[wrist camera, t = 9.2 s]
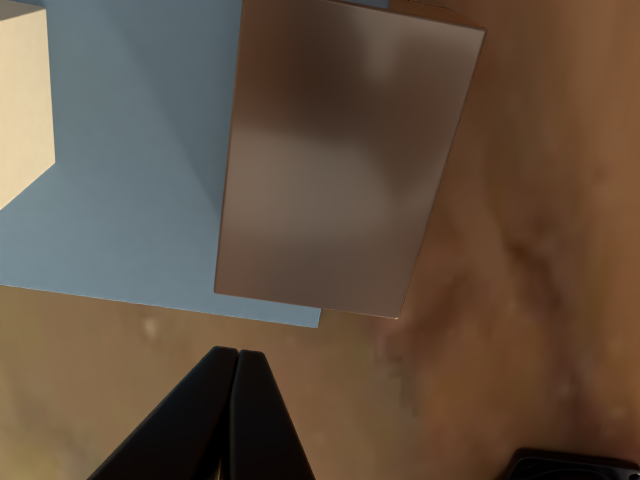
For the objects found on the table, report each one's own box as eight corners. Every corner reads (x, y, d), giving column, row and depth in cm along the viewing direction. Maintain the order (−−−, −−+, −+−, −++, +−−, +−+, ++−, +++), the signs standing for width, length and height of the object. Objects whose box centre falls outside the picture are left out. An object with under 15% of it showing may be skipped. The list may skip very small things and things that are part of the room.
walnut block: (453, 9, 17) (489, 28, 13) (385, 257, 21) (399, 320, 18) (259, -29, 16) (243, -19, 13) (230, 233, 21) (212, 294, 17)
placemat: (417, -141, 15) (421, -143, 14) (317, 321, 23) (317, 328, 22) (-298, -299, 13) (-319, -307, 13) (-145, 257, 21) (-155, 263, 20)
